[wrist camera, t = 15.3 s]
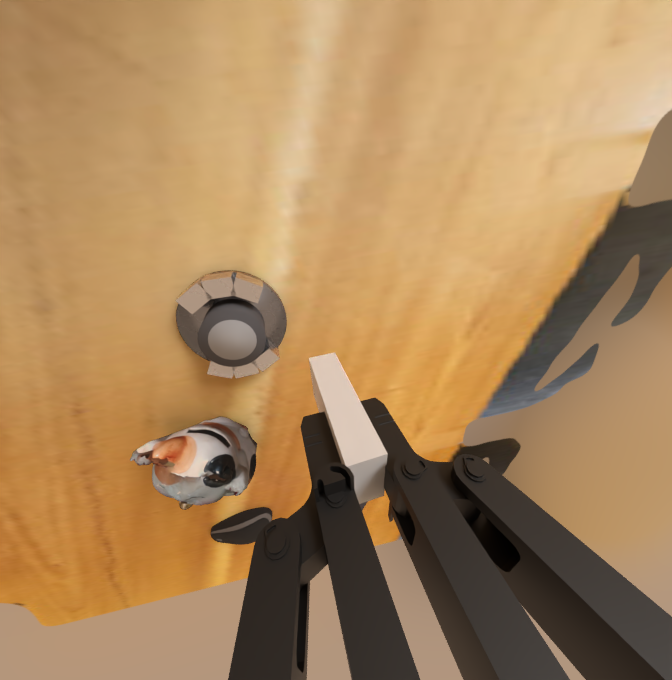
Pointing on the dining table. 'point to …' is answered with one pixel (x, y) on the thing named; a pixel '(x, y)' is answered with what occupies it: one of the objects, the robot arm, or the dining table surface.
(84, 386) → the dining table surface
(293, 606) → the robot arm
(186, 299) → the barrel ring
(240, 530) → the computer mouse
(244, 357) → the cylinder
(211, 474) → the lucky cat figurine
